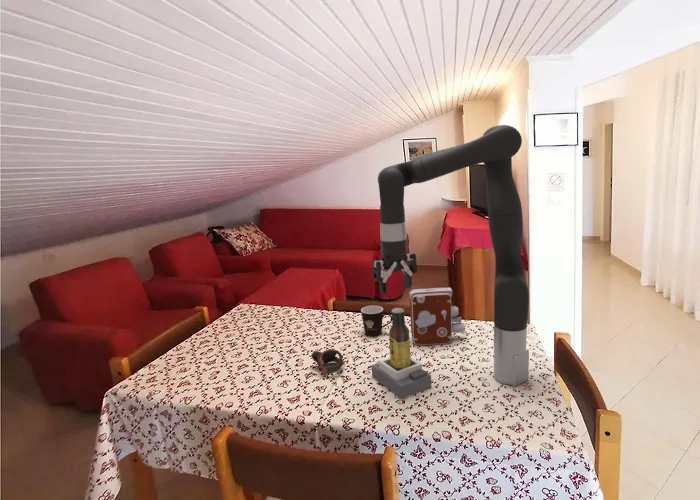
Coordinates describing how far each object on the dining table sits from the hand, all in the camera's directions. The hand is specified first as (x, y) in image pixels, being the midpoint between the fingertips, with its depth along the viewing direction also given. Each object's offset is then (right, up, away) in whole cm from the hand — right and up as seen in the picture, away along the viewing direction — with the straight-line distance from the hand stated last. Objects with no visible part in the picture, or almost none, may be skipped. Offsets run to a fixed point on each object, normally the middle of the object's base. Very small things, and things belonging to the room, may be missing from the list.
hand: (396, 290), depth 134 cm
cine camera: (+19, -22, +33) cm, 44 cm away
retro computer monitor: (+2, -29, +7) cm, 30 cm away
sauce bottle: (+2, -25, +6) cm, 26 cm away
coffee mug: (-4, -21, +42) cm, 47 cm away
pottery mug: (-21, -28, +18) cm, 39 cm away
